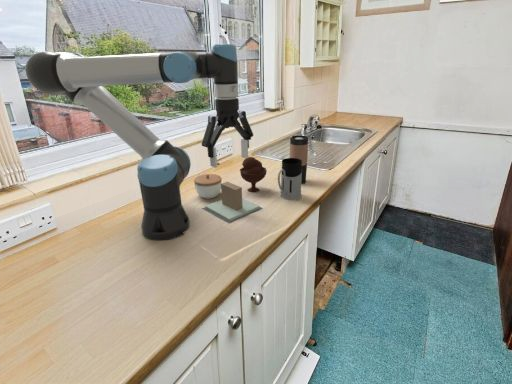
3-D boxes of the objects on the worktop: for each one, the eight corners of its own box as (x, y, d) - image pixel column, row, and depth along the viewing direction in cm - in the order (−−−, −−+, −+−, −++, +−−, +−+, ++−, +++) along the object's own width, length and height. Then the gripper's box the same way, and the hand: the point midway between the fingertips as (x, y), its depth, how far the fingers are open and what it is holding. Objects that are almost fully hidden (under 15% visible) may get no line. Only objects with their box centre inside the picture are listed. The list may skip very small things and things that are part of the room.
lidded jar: (190, 199, 125) (188, 177, 121) (205, 189, 133) (203, 168, 130) (213, 204, 120) (211, 181, 117) (227, 193, 129) (226, 172, 126)
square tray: (229, 225, 105) (228, 223, 105) (201, 209, 116) (201, 208, 116) (263, 209, 115) (263, 208, 115) (235, 197, 126) (235, 195, 126)
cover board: (229, 221, 106) (228, 197, 103) (205, 208, 116) (203, 185, 112) (259, 208, 115) (259, 185, 111) (234, 197, 124) (233, 175, 121)
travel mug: (309, 183, 138) (311, 138, 130) (293, 186, 135) (295, 140, 127) (300, 177, 144) (302, 134, 136) (285, 180, 142) (286, 136, 134)
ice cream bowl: (264, 197, 125) (264, 161, 119) (237, 195, 127) (235, 160, 121) (268, 187, 134) (268, 153, 128) (243, 185, 137) (242, 152, 131)
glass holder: (305, 195, 126) (307, 159, 120) (288, 209, 115) (289, 170, 109) (286, 190, 131) (287, 156, 125) (268, 203, 120) (268, 166, 114)
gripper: (200, 103, 89) (206, 173, 98) (263, 95, 105) (263, 156, 114) (186, 101, 95) (193, 168, 103) (247, 93, 110) (249, 152, 119)
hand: (230, 162), depth 108 cm, fingers open, 13 cm apart
